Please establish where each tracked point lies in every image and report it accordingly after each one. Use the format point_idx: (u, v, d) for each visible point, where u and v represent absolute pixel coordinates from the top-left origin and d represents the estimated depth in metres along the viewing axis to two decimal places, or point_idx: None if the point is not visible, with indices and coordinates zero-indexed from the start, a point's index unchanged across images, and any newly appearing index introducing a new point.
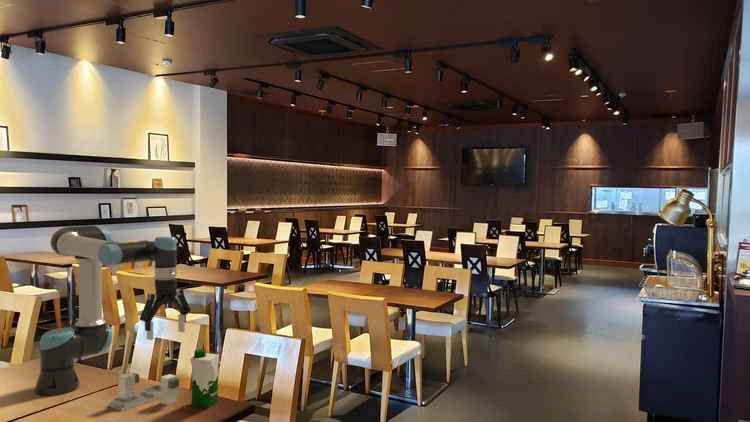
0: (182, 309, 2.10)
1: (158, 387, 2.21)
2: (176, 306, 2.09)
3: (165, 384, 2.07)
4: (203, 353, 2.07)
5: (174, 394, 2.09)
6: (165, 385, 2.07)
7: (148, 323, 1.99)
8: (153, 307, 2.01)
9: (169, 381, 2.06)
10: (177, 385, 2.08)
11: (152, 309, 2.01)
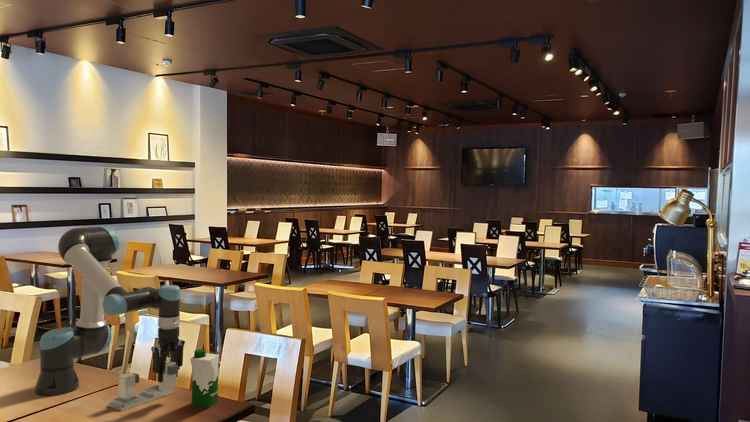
0: (176, 362, 2.11)
1: (158, 387, 2.21)
2: (172, 357, 2.10)
3: (164, 370, 2.07)
4: (203, 353, 2.07)
5: (173, 380, 2.09)
6: None
7: (161, 375, 2.06)
8: (161, 358, 2.06)
9: (168, 367, 2.06)
10: (176, 372, 2.08)
11: (160, 360, 2.06)
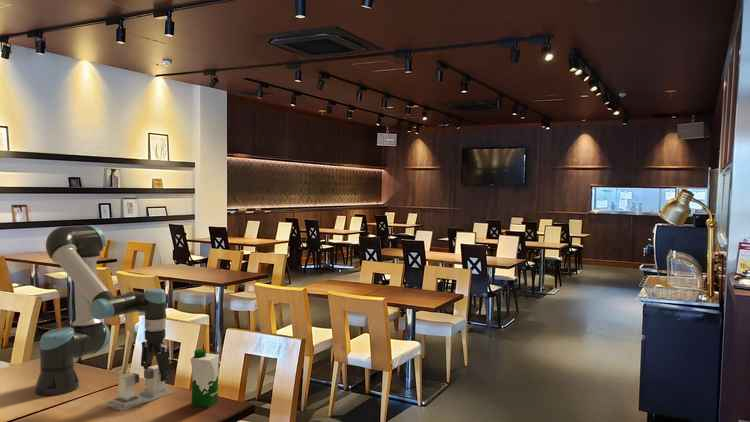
0: (159, 366, 2.13)
1: None
2: None
3: None
4: (203, 353, 2.07)
5: (152, 386, 2.15)
6: None
7: (145, 369, 2.19)
8: None
9: None
10: (147, 377, 2.13)
11: None
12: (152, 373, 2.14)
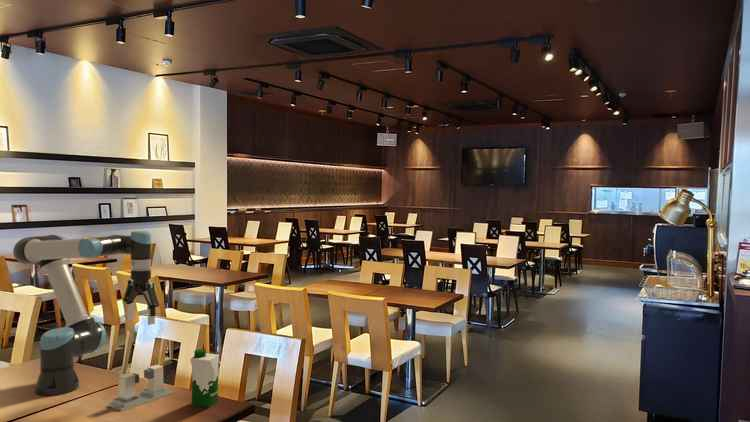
0: (148, 302, 2.19)
1: None
2: None
3: None
4: (203, 353, 2.07)
5: (152, 386, 2.15)
6: None
7: (127, 304, 2.27)
8: None
9: None
10: (147, 377, 2.13)
11: None
12: (152, 373, 2.14)
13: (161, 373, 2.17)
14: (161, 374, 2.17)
